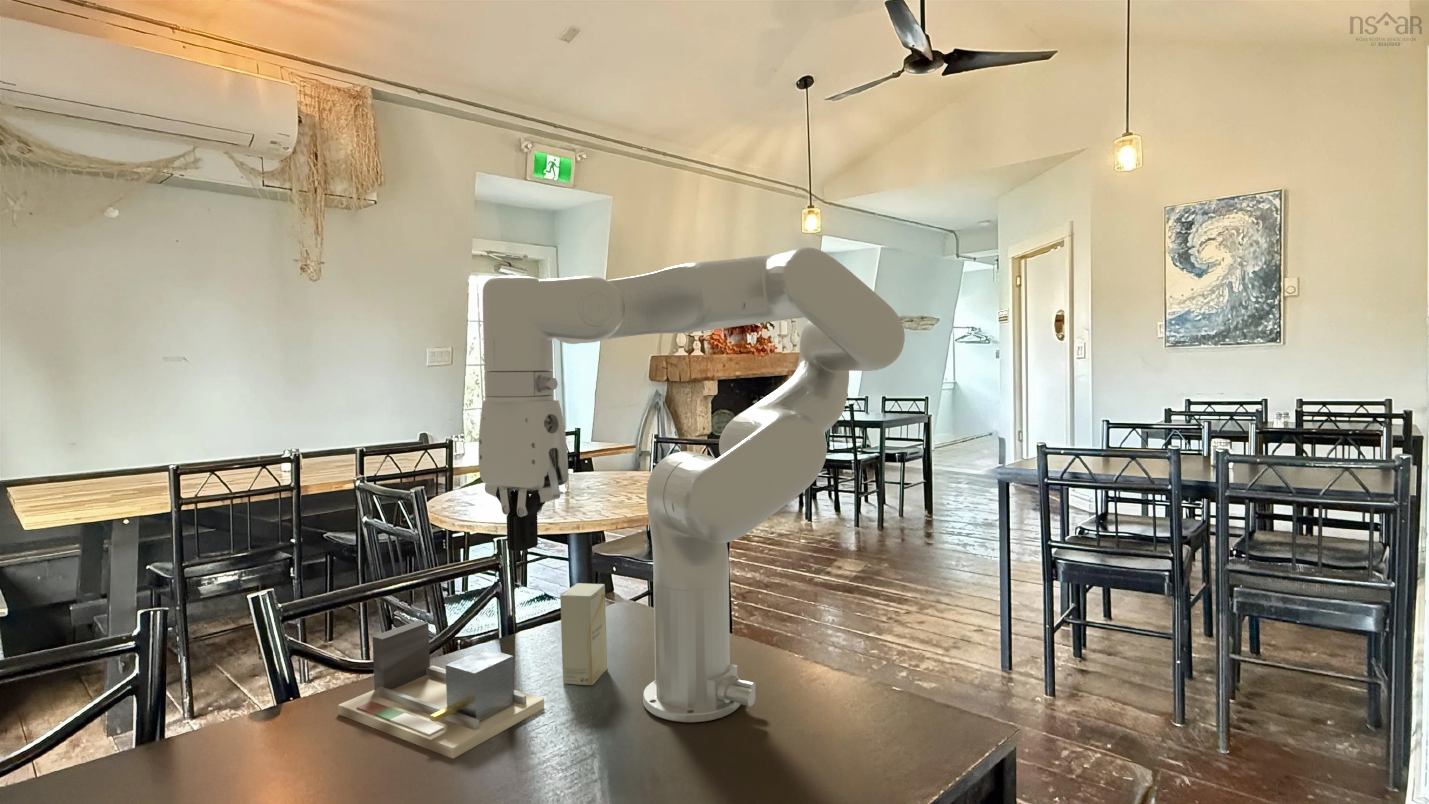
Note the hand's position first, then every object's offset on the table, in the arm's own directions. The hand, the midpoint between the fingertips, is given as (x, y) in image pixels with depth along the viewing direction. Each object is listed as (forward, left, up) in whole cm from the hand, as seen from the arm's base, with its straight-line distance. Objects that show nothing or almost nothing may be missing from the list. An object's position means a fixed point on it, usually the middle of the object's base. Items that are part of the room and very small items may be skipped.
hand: (522, 548), depth 88 cm
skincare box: (+5, -16, -22) cm, 28 cm away
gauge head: (+8, +2, -21) cm, 22 cm away
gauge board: (+14, +1, -22) cm, 26 cm away
